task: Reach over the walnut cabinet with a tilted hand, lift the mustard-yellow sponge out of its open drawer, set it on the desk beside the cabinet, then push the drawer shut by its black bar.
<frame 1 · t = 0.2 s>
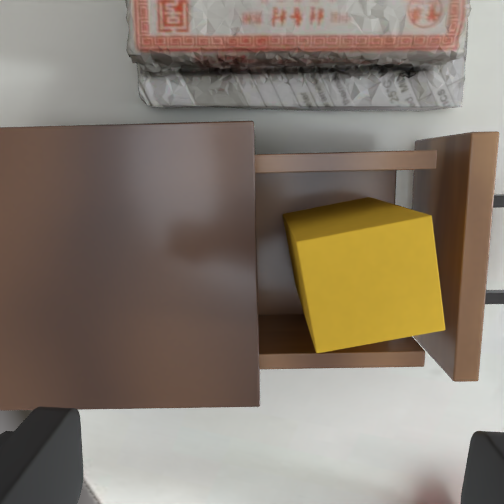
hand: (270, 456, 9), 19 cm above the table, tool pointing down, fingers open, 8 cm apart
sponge: (332, 243, 25), point 2 cm above the table, touching drawer
cabinet: (148, 241, 27), on the table
drawer: (375, 250, 23), point 4 cm above the table, slide at 9.1 cm, touching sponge
packaged product: (299, 20, 25), on the table
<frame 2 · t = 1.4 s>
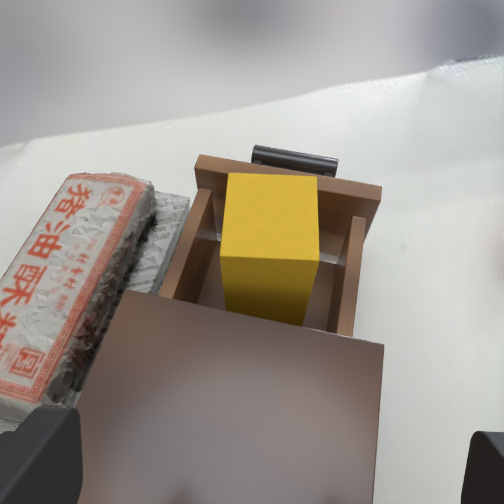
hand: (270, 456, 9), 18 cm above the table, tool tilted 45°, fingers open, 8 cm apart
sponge: (265, 296, 29), point 2 cm above the table, touching drawer
cabinet: (222, 486, 25), on the table
drawer: (272, 254, 28), point 4 cm above the table, slide at 9.1 cm, touching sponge
packaged product: (86, 294, 31), on the table
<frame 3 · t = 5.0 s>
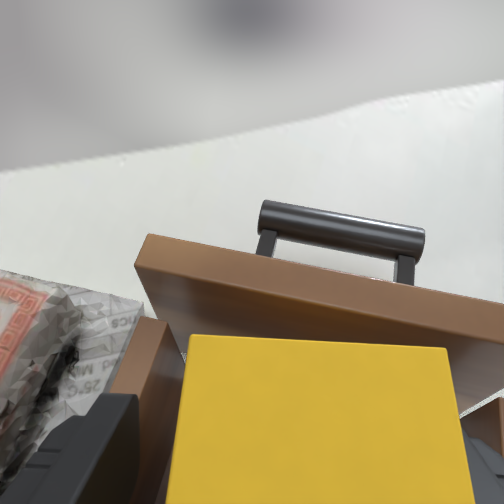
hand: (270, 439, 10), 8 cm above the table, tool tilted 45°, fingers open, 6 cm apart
drawer: (302, 446, 13), point 4 cm above the table, slide at 9.9 cm, touching gripper, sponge
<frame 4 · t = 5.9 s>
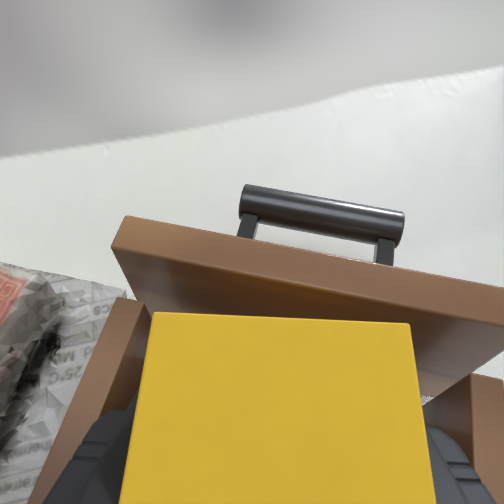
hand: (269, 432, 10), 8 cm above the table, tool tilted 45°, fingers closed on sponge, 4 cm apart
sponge: (263, 501, 14), point 2 cm above the table, touching gripper
drawer: (280, 425, 13), point 4 cm above the table, slide at 9.9 cm
when the fingers open (6 cm above the table, at t = 14.1 s): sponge stays where it is, on the table.
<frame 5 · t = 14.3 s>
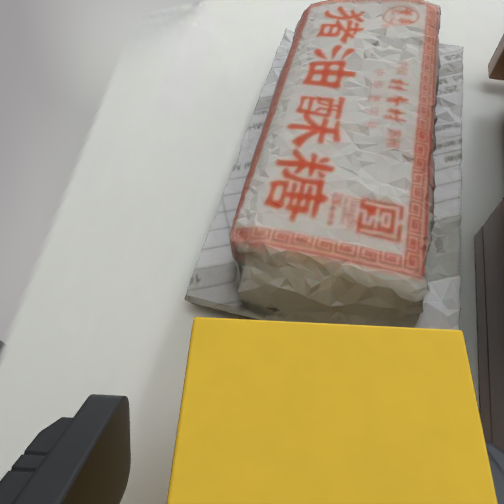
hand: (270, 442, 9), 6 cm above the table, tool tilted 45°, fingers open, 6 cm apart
packaged product: (344, 171, 21), on the table
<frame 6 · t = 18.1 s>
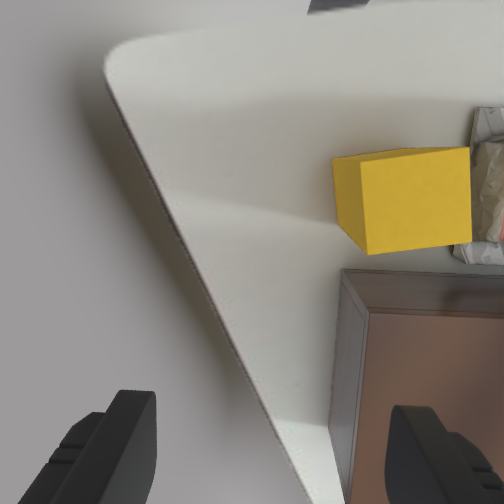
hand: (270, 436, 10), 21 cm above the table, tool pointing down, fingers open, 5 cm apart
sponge: (372, 187, 29), on the table
cabinet: (428, 356, 32), on the table
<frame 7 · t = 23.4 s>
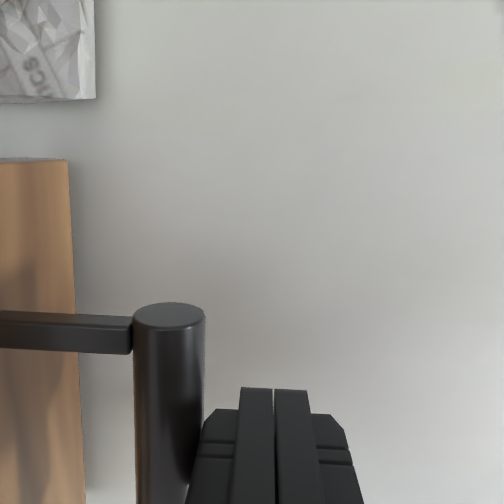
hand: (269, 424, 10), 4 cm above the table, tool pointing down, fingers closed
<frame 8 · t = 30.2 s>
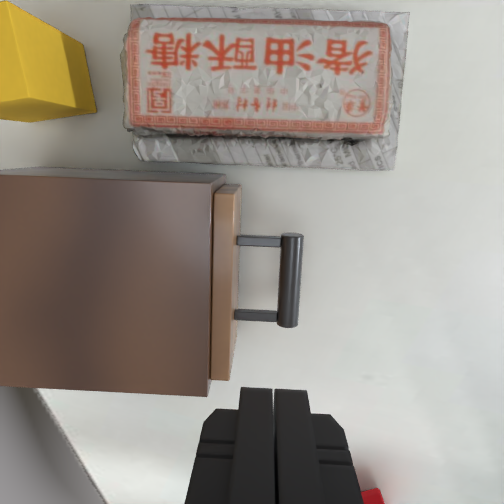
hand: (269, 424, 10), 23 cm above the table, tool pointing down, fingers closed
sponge: (55, 84, 31), on the table
cabinet: (134, 255, 33), on the table
drawer: (173, 273, 29), point 4 cm above the table, slide at 0.0 cm
packaged product: (265, 92, 30), on the table
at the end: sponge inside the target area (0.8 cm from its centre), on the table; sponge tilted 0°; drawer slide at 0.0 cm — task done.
